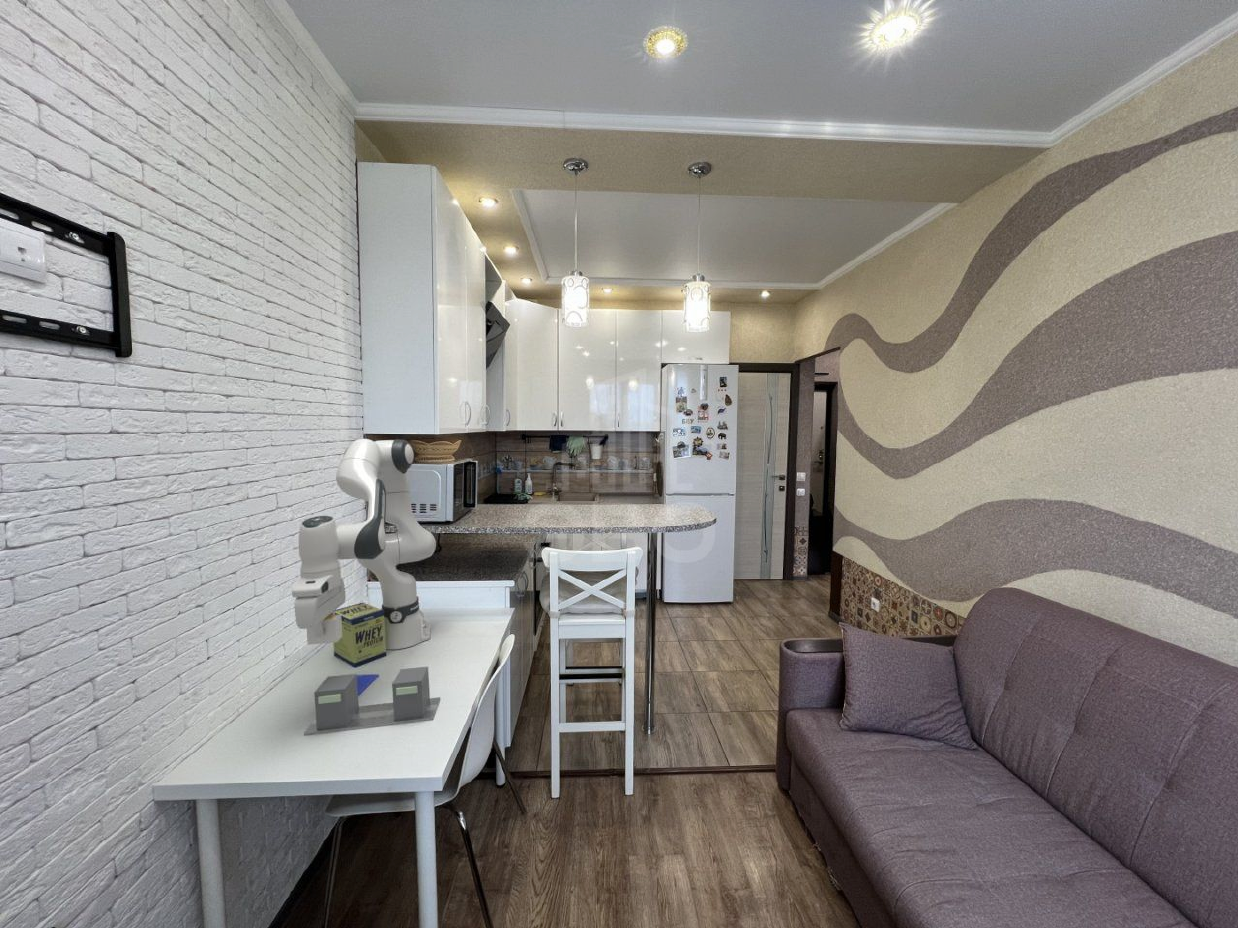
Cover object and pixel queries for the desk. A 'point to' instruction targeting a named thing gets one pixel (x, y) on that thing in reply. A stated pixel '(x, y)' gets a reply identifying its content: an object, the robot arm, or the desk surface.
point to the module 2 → (411, 693)
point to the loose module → (327, 631)
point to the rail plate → (376, 717)
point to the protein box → (361, 634)
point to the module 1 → (336, 701)
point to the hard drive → (365, 682)
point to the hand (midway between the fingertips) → (324, 632)
